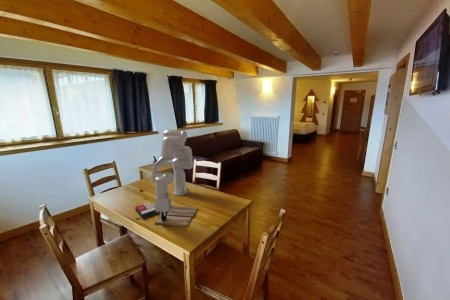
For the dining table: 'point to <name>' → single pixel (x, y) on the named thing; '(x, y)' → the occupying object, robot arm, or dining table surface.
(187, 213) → the laid row
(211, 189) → the dining table surface
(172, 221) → the plank
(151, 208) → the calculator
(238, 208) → the dining table surface
